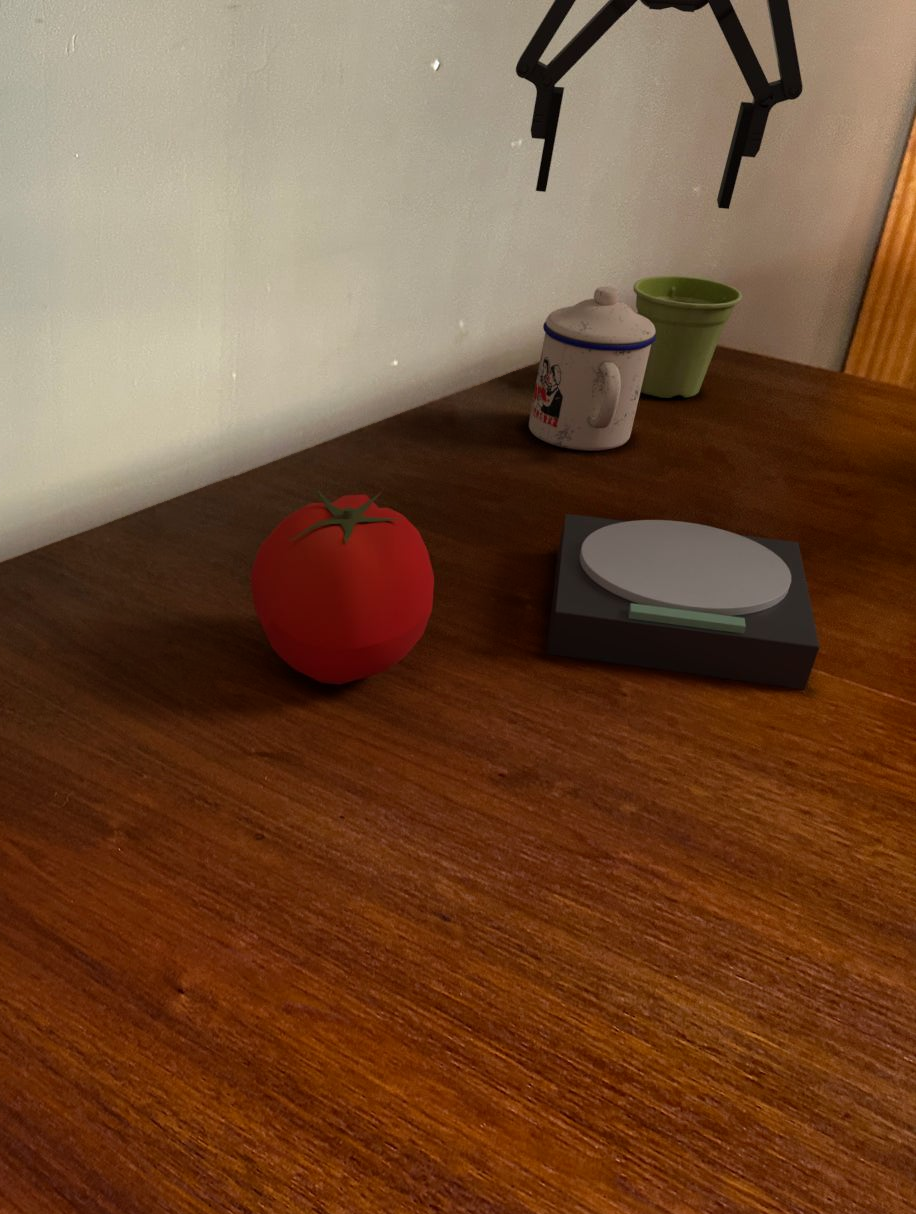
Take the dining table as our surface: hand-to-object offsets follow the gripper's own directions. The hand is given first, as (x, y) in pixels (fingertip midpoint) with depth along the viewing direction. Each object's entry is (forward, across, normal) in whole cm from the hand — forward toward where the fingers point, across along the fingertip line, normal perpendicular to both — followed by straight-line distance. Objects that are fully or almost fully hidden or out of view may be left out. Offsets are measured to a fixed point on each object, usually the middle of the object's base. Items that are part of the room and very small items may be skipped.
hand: (631, 196), depth 108 cm
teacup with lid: (+19, 0, 0) cm, 19 cm away
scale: (+19, +7, -32) cm, 37 cm away
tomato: (+19, -14, -44) cm, 50 cm away
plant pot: (+19, +7, +16) cm, 26 cm away
